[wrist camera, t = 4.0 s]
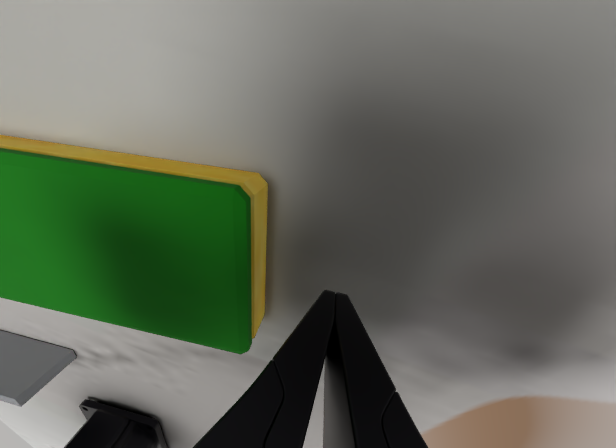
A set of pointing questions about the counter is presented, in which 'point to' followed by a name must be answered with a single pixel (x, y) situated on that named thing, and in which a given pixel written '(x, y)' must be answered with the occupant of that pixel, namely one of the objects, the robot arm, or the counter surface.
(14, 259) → the dish sponge
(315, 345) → the robot arm
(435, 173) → the counter surface
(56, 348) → the frame
